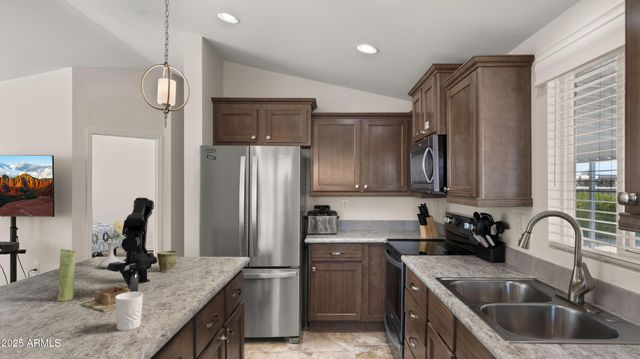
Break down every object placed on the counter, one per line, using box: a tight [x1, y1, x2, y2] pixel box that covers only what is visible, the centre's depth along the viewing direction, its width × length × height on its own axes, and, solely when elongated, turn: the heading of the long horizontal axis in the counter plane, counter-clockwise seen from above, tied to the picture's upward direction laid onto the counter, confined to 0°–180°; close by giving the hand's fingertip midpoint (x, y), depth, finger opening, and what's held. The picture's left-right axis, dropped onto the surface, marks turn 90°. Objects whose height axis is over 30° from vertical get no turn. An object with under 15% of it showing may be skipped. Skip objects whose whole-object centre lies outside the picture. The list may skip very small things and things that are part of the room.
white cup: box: [115, 291, 144, 332], centre depth 110 cm, size 8×8×10 cm
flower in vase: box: [98, 220, 126, 269], centre depth 187 cm, size 13×11×25 cm
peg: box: [127, 270, 139, 292], centre depth 144 cm, size 4×4×9 cm
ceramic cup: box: [156, 249, 179, 274], centre depth 181 cm, size 13×10×10 cm
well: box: [82, 285, 130, 313], centre depth 131 cm, size 14×14×5 cm
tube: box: [57, 248, 76, 302], centre depth 134 cm, size 6×5×20 cm
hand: (133, 283), depth 144 cm, fingers closed on peg, 4 cm apart
